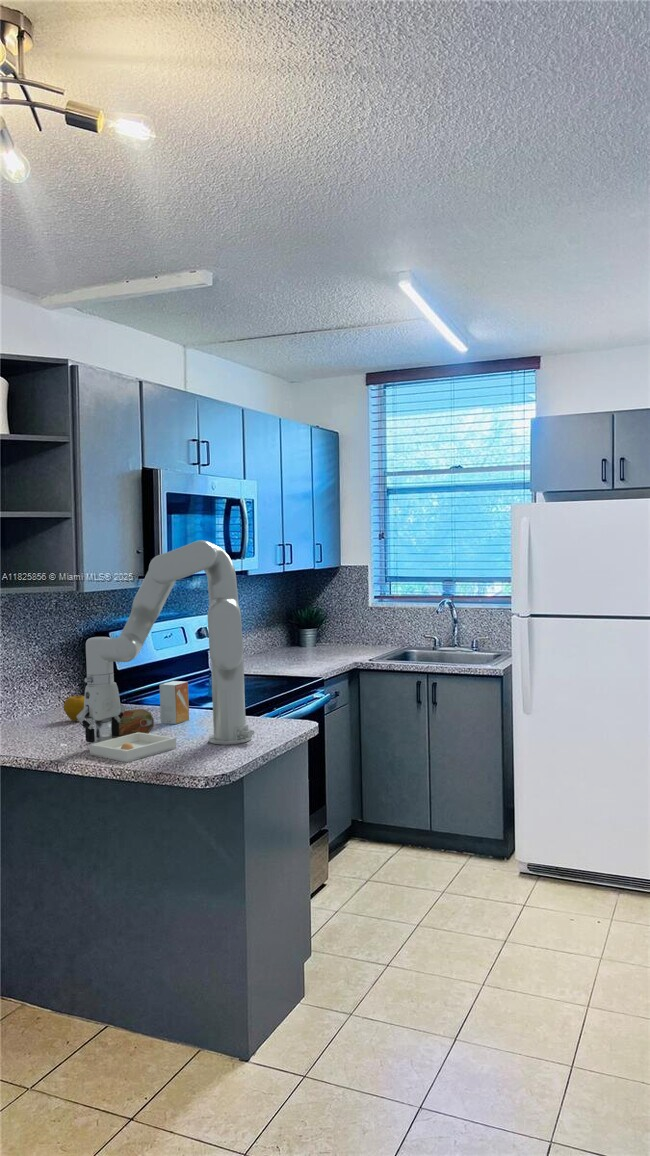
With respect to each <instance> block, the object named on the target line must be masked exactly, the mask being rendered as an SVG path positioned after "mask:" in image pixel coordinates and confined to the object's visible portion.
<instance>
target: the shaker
mask: <svg viewBox="0 0 650 1156" xmlns="http://www.w3.org/2000/svg"><path fill="white" fill-rule="evenodd" d="M111 720H112V718H106V719H103V720H98V721H95V723H94V725H93V729H94V733H95V742H93V744H94V743H98V742H102V741H106V740H110V739H113V738H112V723H111Z"/></svg>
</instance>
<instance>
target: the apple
mask: <svg viewBox="0 0 650 1156" xmlns="http://www.w3.org/2000/svg"><path fill="white" fill-rule="evenodd" d="M84 696H85V695H78V694H76V695H74V696H70V697H67V698H66V699H65V701H64V704H63V710H64V712H65V714H66V716H67V717H68V718H69V720H70V721H72V722H79V720H78V719H77V715H78V714H79V713H80V712H81V711H82V710H83V709H84ZM84 719H86V718H85V716H84Z"/></svg>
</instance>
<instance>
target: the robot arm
mask: <svg viewBox="0 0 650 1156" xmlns="http://www.w3.org/2000/svg"><path fill="white" fill-rule="evenodd" d="M235 569H236V568H235V566H234V563H233V561H232V559H231V557H230V555H229V554H228V553H227V552H226V551H225V550H224V549H222V548H221V547H219V546H218V545H216V544H215V543H212V542H210V541H208V540H203V539H201V540H196V541H193V542H191V543H188V544H186V545H183V546H180V547H178V548H175V549H173V550H169V551H167V552H164V553H161V554H157V555H156V556H154V557H153V558H152V559H150V563H149V565H148V570H147V572H146V574H145V577H144V579H143V580H142V583H141V584H140V587H139V588H138V591H137V593H136V594H135V596H134V598H133V600H132V604H131V605H132V606H131V607H132V608H131V610H130V614H129V616H128V618H127V620H126V622H125V625H124V626H123V628H122V631H121V633H120V634H119V636H118V637H114V638H111V637H108V636H94V637H90V638H88V639H87V640H86V642H85V658H86V677H85V678H84V683H86V684H87V685H85V689H84V695H83V696H84V709H83V710H82V711H81V712H80V713H79V714H78V715H77V719H78V720H79V721H78V722H79V725H81V726H82V727H83V729H84V733H85V741H86V743H91V744H94V742H95V733H94V723H95V721H98V720H103V719H106V718H112V722H111V723H112V736H117V737H118V736H119V723H120V722H121V718H122V716H123V713H124V711H125V710H127V707H126V705H124V704H123V703H121V701H120V700H121V699H120V692H119V687H118V685H117V682H115V676H114V675H115V673H114V662H116V663H128V662H131V661H132V660H134V659H136V658H137V656H138V655H139V654H140V652H141V650H142V648H143V646H144V645H145V642H146V640H147V638H148V636H149V634H150V632H151V630H152V628H153V626H154V624H155V622H156V621H157V619H158V618H159V617H160V614H161V612H162V610H163V607H164V606H165V604H166V601H168V600H167V599H168V597H169V595H170V593H171V591H172V590H173V588H174V586H175V584H176V581H178V580H182V579H184V578H187V577H189V576H192V575H194V574H198V573H201V572H202V571H204V573H205V575H206V577H207V580H206V581H207V591H208V606H209V607H208V611H207V627H208V629H207V631H208V632H207V633H208V647H209V648H208V649H209V657H210V662H211V663H210V667H211V668H210V669H211V692H212V693H211V695H212V719H213V720H212V723H213V734H212V735H210V736H209V737H208V742H209V743H211V744H215V745H223V746H224V745H225V746H226V745H237V744H243V743H247V742H249V741H251V740H252V738H253V736H254V735H255V730H253V729H249V724H247V723H246V702H245V701H246V699H245V697H246V696H245V670H244V669H245V668H244V667H245V665H244V663H245V662H244V643H243V625H242V614H241V612H242V611H241V608H240V604H239V593H238V592H239V591H238V586H237V585H238V584H237V582H238V581H237V575H236V570H235ZM84 716H85V718H84Z"/></svg>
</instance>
